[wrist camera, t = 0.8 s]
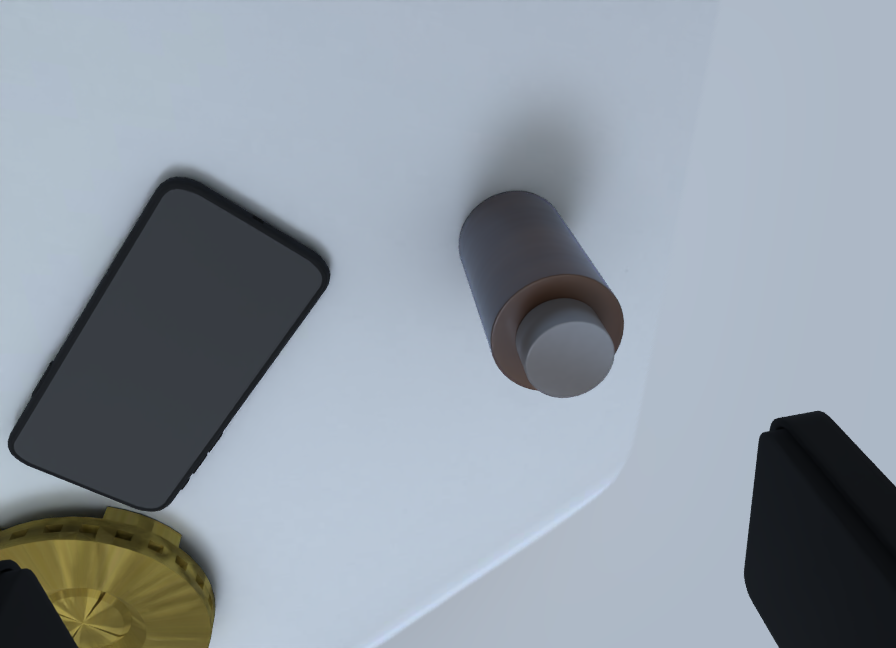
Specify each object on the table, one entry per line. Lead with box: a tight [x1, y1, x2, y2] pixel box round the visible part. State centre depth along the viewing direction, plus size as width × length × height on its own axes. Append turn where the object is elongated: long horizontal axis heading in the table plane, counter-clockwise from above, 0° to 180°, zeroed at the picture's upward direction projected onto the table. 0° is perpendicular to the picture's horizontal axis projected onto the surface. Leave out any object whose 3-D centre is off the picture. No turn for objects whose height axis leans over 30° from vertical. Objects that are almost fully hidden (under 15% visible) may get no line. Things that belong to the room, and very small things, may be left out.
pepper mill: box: [459, 191, 624, 398], centre depth 27 cm, size 4×4×9 cm
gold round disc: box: [0, 507, 215, 648], centre depth 36 cm, size 12×12×2 cm
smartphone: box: [8, 177, 330, 512], centre depth 31 cm, size 7×1×15 cm
